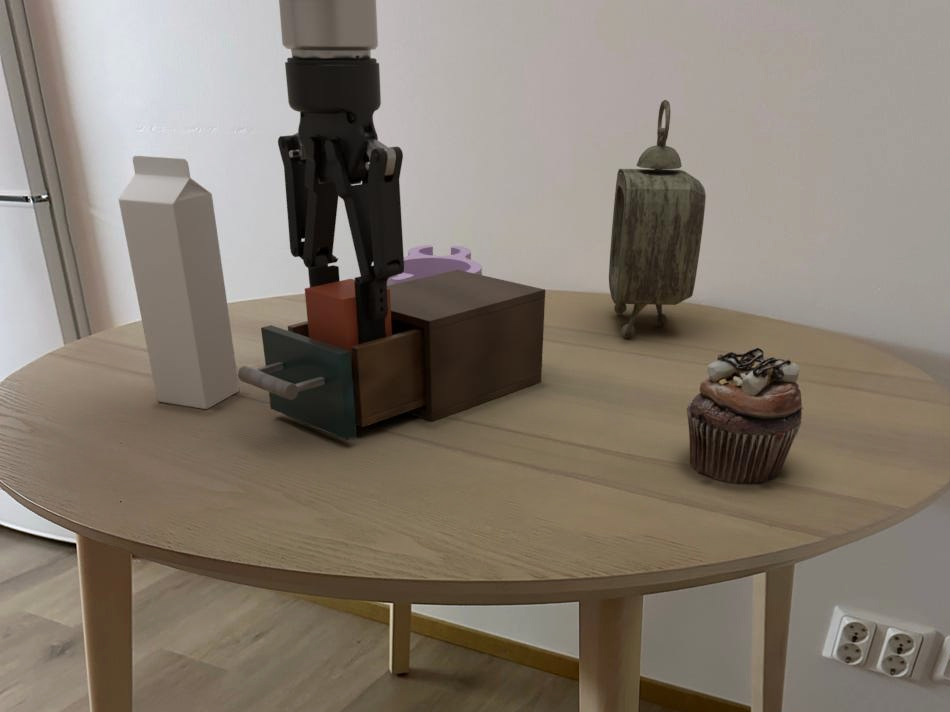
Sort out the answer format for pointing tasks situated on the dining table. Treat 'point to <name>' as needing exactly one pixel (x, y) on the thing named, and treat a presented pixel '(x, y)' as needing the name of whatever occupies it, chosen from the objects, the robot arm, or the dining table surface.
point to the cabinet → (472, 337)
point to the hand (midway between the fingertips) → (351, 345)
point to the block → (336, 314)
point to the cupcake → (745, 418)
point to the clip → (434, 263)
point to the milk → (179, 283)
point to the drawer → (341, 377)
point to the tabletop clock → (655, 231)
